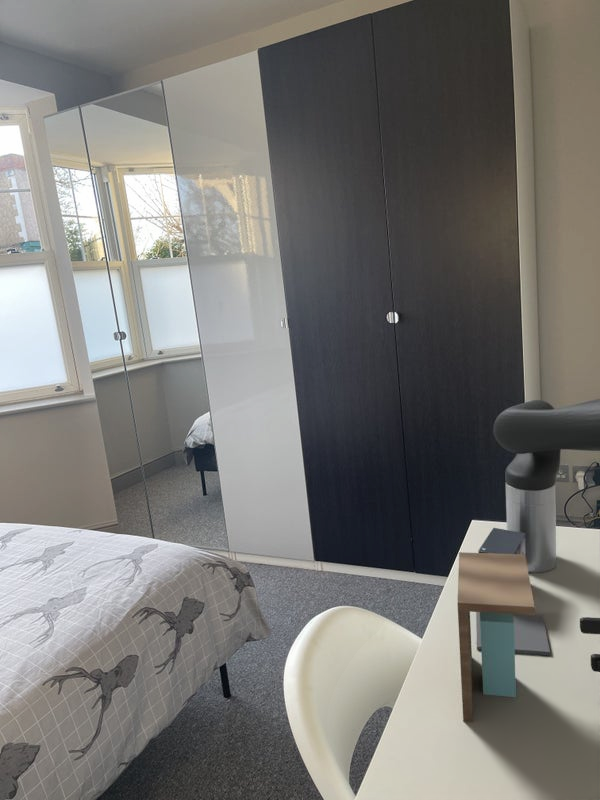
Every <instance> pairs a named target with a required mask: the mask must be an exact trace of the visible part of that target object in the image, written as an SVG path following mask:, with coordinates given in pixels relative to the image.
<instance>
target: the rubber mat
mask: <svg viewBox="0 0 600 800" xmlns="http://www.w3.org/2000/svg"><path fill="white" fill-rule="evenodd" d="M475 613H476V614H475V618H476V619H475V621H476V622H475V623H476V650H477V651H481V628H480V612H475ZM513 620H514V646H515V654H526V655H527V654H528V655H529V654H530V655H540V656H541V655H542V656H543V655H544V656H550V655H551V650H550V645H549V641H548V635H547V631H546V626H545V620H544V615H543V614H542V615H541V614H535V615H519V614H513Z"/></svg>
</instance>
